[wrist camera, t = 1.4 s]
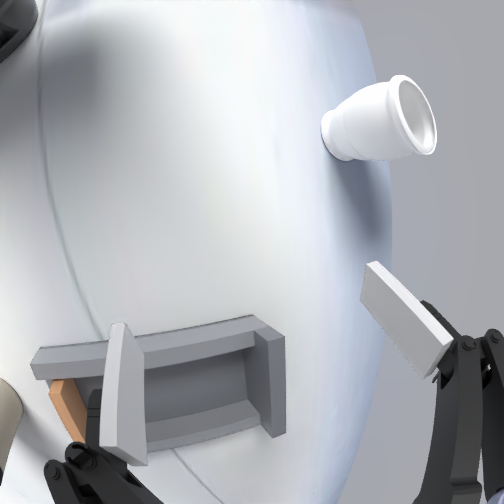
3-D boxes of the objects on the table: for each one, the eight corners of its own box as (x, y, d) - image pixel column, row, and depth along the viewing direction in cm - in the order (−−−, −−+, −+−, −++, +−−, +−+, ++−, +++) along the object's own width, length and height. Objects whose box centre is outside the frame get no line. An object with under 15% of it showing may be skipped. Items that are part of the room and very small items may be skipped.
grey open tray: (40, 347, 23) (21, 379, 16) (252, 314, 35) (284, 336, 27) (80, 437, 25) (78, 475, 18) (259, 402, 37) (286, 432, 30)
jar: (367, 166, 41) (443, 155, 28) (322, 170, 37) (408, 153, 24) (353, 107, 39) (424, 82, 26) (307, 102, 35) (383, 65, 22)
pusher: (58, 367, 24) (48, 393, 18) (68, 366, 24) (60, 393, 19) (85, 427, 25) (83, 457, 20) (95, 427, 26) (94, 457, 20)
